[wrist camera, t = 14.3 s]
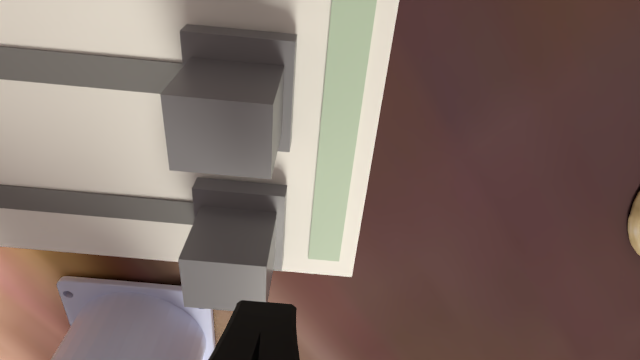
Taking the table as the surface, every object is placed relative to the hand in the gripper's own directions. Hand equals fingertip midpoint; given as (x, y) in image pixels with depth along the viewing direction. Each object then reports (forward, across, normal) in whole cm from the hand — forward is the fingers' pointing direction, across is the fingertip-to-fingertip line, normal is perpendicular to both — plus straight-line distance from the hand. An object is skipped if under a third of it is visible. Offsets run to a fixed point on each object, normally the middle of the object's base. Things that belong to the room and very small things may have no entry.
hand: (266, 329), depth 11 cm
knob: (+8, +2, +3) cm, 9 cm away
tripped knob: (+8, +2, -3) cm, 8 cm away
